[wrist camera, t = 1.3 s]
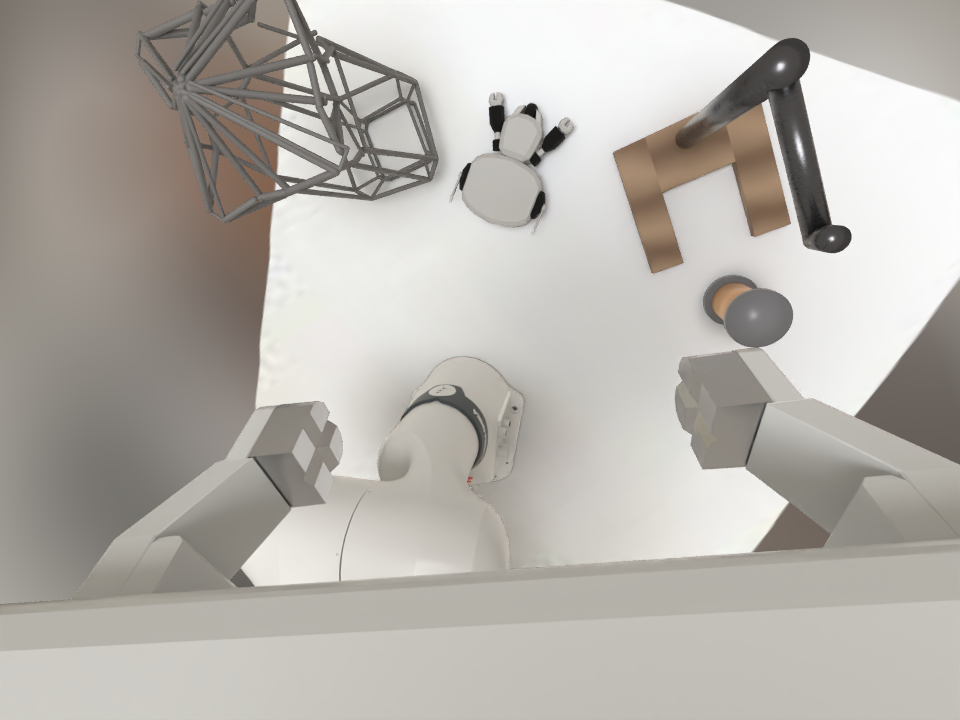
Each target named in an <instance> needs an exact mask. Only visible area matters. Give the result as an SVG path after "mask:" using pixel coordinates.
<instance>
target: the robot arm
mask: <svg viewBox="0 0 960 720" xmlns="http://www.w3.org/2000/svg"><path fill="white" fill-rule="evenodd" d="M678 372H679V374H680V376H681V378H682V380H683V381H682V382H681V383H680V384H679V385H678V386H677V387H676V394H675V404H676V412H677V415H678V418H679V421H680V423H681V425H682V428H683V429H684V430H686V431H687V432H689V433H690V434H692V439H691V447H692V449H693V451H694V453H695V455H696V457H697V459H698V461H699V463H700V465H701V467H702V469H718V468H733V467H746V469H747V470H748V471H750V472H751V473H752V474H753V475H755V476H756V477H757V478H759V479H760V480H761V481H763V482H764V483H765V484H766V485H768V486H769V487H770V488H772V489H773V490H774V491H776V492H777V493H778V494H779V495H781V496H782V497H783V498H785V499H786V500H787V501H789V502H790V503H791V504H793V505H794V506H795V507H797V508H798V509H799V510H800V511H802V512H803V513H804V514H806V515H807V516H808V517H810V518H811V519H812V520H814V521H815V522H816V523H818V524H819V525H820V526H821V527H823V528H824V529H825V530H826V531H828V532H829V533H830V534H831V536H830V537H829V539H828V541H827V542H826V544H825V546H824V548H814V549H798V550H785V551H771V552H770V551H769V552H755V553H740V554H725V555H711V556H696V557H682V558H667V559H653V560H638V561H624V562H609V563H594V564H580V565H565V566H551V567H536V568H522V569H509V563H510V548H509V540H508V536H507V532H506V529H505V527H504V524H503V522H502V520H501V518H500V516H499V515H498V513H497V512H496V510H495V509H494V508H493V506H492V505H491V504H489V503H487V502H486V501H484V500H483V499H481V498H480V497H479V496H477V495H476V494H475V493H474V492H473V491H472V490H471V489H470V488H469V486H468V485H476V484H483V483H487V482H493V481H498V480H501V479H504V478H506V477H508V476H509V475H510V473H511V471H512V466H513V461H514V455H515V450H516V445H517V439H518V434H519V428H520V423H521V417H522V412H523V406H524V398H523V396H522V395H521V394H520V393H519V392H517V391H516V390H514V389H512V388H511V387H509V386H508V385H507V383H506V382H505V381H504V379H503V378H502V377H501V375H500V374H499V373H498V372H497V371H496V370H495V369H494V368H492V367H491V366H490V365H488V364H486V363H485V362H483V361H480V360H478V359H474V358H470V357H456V358H451V359H448V360H446V361H444V362H442V363H440V364H439V365H438V366H436V367H435V368H434V369H433V371H432V372H431V373H430V375H429V377H428V379H427V380H426V382H425V383H424V384H423V385H421V386H420V387H418V388H417V389H416V390H415V391H414V392H413V394H412V396H411V399H412V402H411V403H410V405H409V406H408V408H407V409H406V411H405V413H404V415H403V416H402V418H401V421H400V423H399V424H398V425H397V426H396V427H395V428H394V429H393V430H392V432H391V433H390V434H389V435H388V436H387V437H386V438H385V440H384V441H383V443H382V445H381V448H380V451H379V455H378V462H377V464H378V473H379V476H380V479H381V481H374V480H367V479H359V478H352V477H344V476H336V475H332V474H331V471H332V470H333V469H334V468H335V467H336V466H337V465H338V464H339V463H340V460H341V457H342V451H343V441H342V437H341V433H340V431H339V429H338V427H337V425H335V424H333V423H332V422H330V421H328V420H327V419H328V416H329V413H330V412H329V410H328V409H327V407H326V405H325V404H324V403H323V402H320V401H314V402H303V403H293V404H282V405H276V406H266V407H260V408H258V409H256V410H255V411H254V412H253V414H252V416H251V417H250V419H249V421H248V422H247V424H246V426H245V427H244V429H243V431H242V432H241V434H240V435H239V437H238V439H237V440H236V442H235V444H234V446H233V447H232V449H231V450H230V452H229V454H228V455H227V457H226V459H225V460H224V461H218V462H217V463H215V464H214V465H213V466H211V467H210V468H209V469H207V470H206V471H205V472H203V473H202V474H201V475H199V476H198V477H197V478H195V479H194V480H193V481H191V482H190V483H189V484H187V485H186V486H185V487H184V488H182V489H181V490H179V491H178V492H177V493H175V494H174V495H173V496H171V497H170V498H169V499H168V500H166V501H165V502H163V503H162V504H161V505H159V506H158V507H157V508H156V509H154V510H153V511H151V512H150V513H149V514H147V515H146V516H145V517H144V518H142V519H141V520H139V521H138V522H137V523H136V524H134V525H133V526H132V527H130V528H129V529H128V530H126V531H125V532H124V533H122V534H121V535H120V536H118V537H117V538H116V539H114V541H113V542H112V544H111V545H110V547H109V548H108V549H107V551H106V552H105V554H104V555H103V556H102V558H101V559H100V561H99V562H98V563H97V565H96V566H95V567H94V569H93V570H92V571H91V573H90V574H89V576H88V577H87V578H86V580H85V581H84V583H83V584H82V585H81V587H80V588H79V590H78V591H77V592H76V594H75V595H74V596H73V598H72V599H68V600H54V601H39V602H24V603H9V604H0V720H960V465H959V464H956V463H954V462H952V461H950V460H948V459H945V458H943V457H941V456H939V455H937V454H934V453H932V452H930V451H928V450H926V449H923V448H921V447H919V446H917V445H914V444H912V443H910V442H908V441H906V440H903V439H901V438H899V437H897V436H895V435H892V434H890V433H888V432H886V431H884V430H881V429H879V428H877V427H875V426H872V425H870V424H868V423H866V422H864V421H861V420H859V419H857V418H855V417H853V416H851V415H848V414H846V413H844V412H842V411H840V410H837V409H835V408H833V407H831V406H829V405H826V404H824V403H822V402H820V401H817V400H815V399H813V398H812V399H804V398H803V397H802V395H801V394H800V393H799V392H798V391H797V389H796V388H795V387H794V386H793V385H792V383H791V382H790V381H789V380H788V379H787V378H786V376H785V375H784V374H783V373H782V372H781V370H780V369H779V368H778V367H777V366H776V365H775V363H774V362H773V361H772V360H771V359H770V357H769V356H768V355H767V354H766V353H765V351H764V350H763V349H760V348H758V347H756V348H748V349H741V350H734V351H731V352H722V353H714V354H706V355H698V356H690V357H683V358H682V359H681V361H680V364H679V371H678ZM513 406H516V407H517V409H514V408H513ZM495 474H496V476H495ZM240 568H241V569H242V570H243V572H244V573H245V574H246V575H247V576H248V578H249V579H250V580H251V581H252V583H253V584H254V586H255V587H244V588H237V587H236V586H235V585H234V584H233V583H232V582H231V581H230V579H231V578H232V577H233V576H234V575H235V573H236V572H237V571H238V570H239V569H240Z"/></svg>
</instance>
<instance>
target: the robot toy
mask: <svg viewBox="0 0 960 720" xmlns="http://www.w3.org/2000/svg"><path fill="white" fill-rule="evenodd" d="M502 102H503V96H502V94H501V93H499V92H498V93H497V100H495V94H494V93H492V94H491V95H490V97H489V103H490V105H491V107H489V117H490V125H491V127H492V129H493V131H494V133H495V140H493V151H501V152H502V154H503V155H499V154H483V155H480V156H477V157H476V158H475V160H474V161H473V162H472V163H468V164H467V165H466V167H465V168H464V169H463V172H460V173H459V178H458V181H457V183H456V185H455V188H454V190H453V193H452V195H451V196H450V199H449V203H450V202H451V201H452V199H453V196H454V193H455V191H456V188H457V186H458V184H459V181H460V190H461V191H462V199H463V201H464V203H465V204H466V206H467V207H468V208H469V209H470V210H471V211H472V212H474V213H475V214H476V215H478V216H479V217H481V218H483V219H484V220H486V221H488V222H490V223H494V224H499V225H503V226H510V227H519V226H522V225H526V224H527V223H528V222H529V221H530V220H531V219H535V218H536V217H537V216H538V215H539V214H540V215H539V218H538V220H537V222H536V225H535V227H534V229H533V231H532V235H533V234H534V232H535V229H536V227H537V224H538V222H539V220H540V217H541V215H542V213H543V211H544V210H545V208H546V205H544V203H545V193H544V192H543V191H542V183H541V181H540V179H539V177H538V176H537V174H536V173H535V172H534V171H533V170H532V169H530V168H529V167H528V166H527V165H525V164H528V163H532V164H533V165H534V166H536V165H537V164H538V163H539V162H540V161H541V158H540V157H541V156H542V155H543V154H544V153H545V152H548V151H551V150H553V149H555V148H556V147H557V146H558V145H559V144H560V143H561V142H562V141H563V140H564V139H565V136H564V135H566V134H568V133H571V131H572V129H573V128H574V126H573V123H572V122H571V123H570V124H569V125H568V127H566V126H565V125H566V124H567V123H568V122H569V121H570V120H569V118H564V119H563V120H561V121H560V123H559V126H558V128H557V127H556V126H555V127H554V128H553V129H552V130H551V131H550V132H549V133H548V134H547V136H546V137H545V138H544V141H543V131H542V117H541V114H540V113H539V112H538V111H537V110H538V107H537V106H536V105H535V104H533V103H530V104H528V105H527V107H526V105H523V106H518V108H517V109H516V110H515V112H514V113H513V114H512V115H510V116H509V117H508V118H507V119H506V120H505V121H504V107H503V106H501V105H502ZM535 117H536V119H535ZM501 131H502V132H501ZM542 142H543V144H542ZM541 144H542V147H541V149H540V150H539V148H540V146H541ZM538 150H539V151H538Z"/></svg>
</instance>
